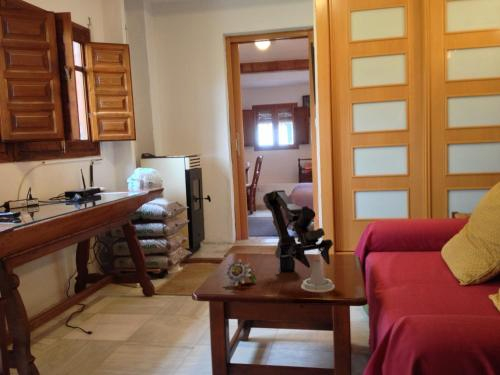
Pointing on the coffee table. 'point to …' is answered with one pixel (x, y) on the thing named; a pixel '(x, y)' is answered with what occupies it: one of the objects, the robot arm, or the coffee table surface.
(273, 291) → the coffee table surface
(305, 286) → the shaker seat
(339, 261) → the coffee table surface
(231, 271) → the passion flower
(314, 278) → the flask
